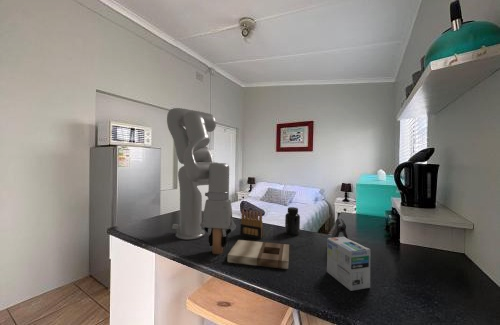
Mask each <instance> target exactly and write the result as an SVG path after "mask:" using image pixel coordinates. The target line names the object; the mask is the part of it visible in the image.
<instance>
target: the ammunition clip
mask: <svg viewBox="0 0 500 325" xmlns="http://www.w3.org/2000/svg"><path fill="white" fill-rule="evenodd" d="M240 218H241V220H240V232H239V235H240V236H244V237H248V238H252V239H256V240H262V239H263V238H264V229H263V228H264V227H263V214H262V211H260V212H258V210H256V212H255V210H254V209H253V210H251V209H249V212H248V209H246V210H244V208H242V210H241V217H240Z"/></svg>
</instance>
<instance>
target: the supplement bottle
mask: <svg viewBox="0 0 500 325" xmlns="http://www.w3.org/2000/svg"><path fill="white" fill-rule="evenodd" d="M284 216H285V217H284V218H285V219H284V221H285V222H284V232H285V234H287V235H288V236H291V237H292V236H293V237H294V236H298V235H300V229H301V228H300V226H301V225H300V223H301V216H300V214H299V208H298V207H296V206H295V207H293V206H292V207H291V206H289V207H287V213H286V214H285V215H284Z"/></svg>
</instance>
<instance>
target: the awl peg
mask: <svg viewBox="0 0 500 325" xmlns="http://www.w3.org/2000/svg"><path fill="white" fill-rule="evenodd" d="M222 236H223V232H222V229H216V228H213V237H212V246H211V248H212V249H211V253H212V254H214V255H221V254H223V253H224V248H223V247H221V245H222Z"/></svg>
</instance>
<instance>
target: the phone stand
mask: <svg viewBox="0 0 500 325" xmlns="http://www.w3.org/2000/svg"><path fill="white" fill-rule="evenodd" d="M340 220H341V221H340ZM341 223H342V224H341ZM340 224H341V225H340ZM346 226H347V225H346V223H345V221H344V220H343V218H340V219H339V218H337V219H336V220H335V228H333V232H332V234H331V236H330V238H336V237H340V236H339V235H340V233H342V235H343V236H342V237H346V238H347V239H349V237H348V234H347V231H346V229H347V227H346Z"/></svg>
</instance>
